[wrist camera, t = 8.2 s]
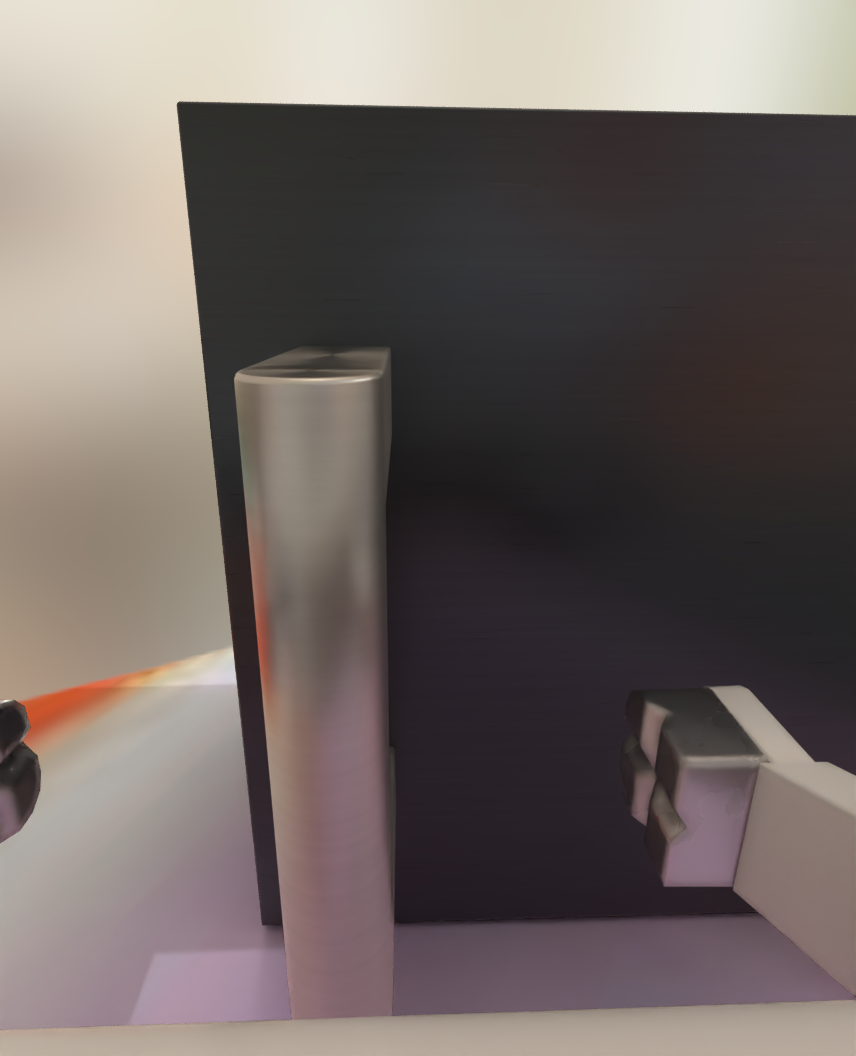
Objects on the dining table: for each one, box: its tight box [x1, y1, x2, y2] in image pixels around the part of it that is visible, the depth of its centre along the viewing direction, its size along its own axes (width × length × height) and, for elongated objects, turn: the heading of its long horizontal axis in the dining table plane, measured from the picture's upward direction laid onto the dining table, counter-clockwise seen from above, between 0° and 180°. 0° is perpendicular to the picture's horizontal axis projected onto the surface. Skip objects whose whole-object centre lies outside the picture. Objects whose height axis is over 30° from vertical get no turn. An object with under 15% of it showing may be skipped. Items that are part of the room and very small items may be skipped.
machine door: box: [177, 102, 856, 1019], centre depth 11 cm, size 6×18×17 cm, turn 92°
